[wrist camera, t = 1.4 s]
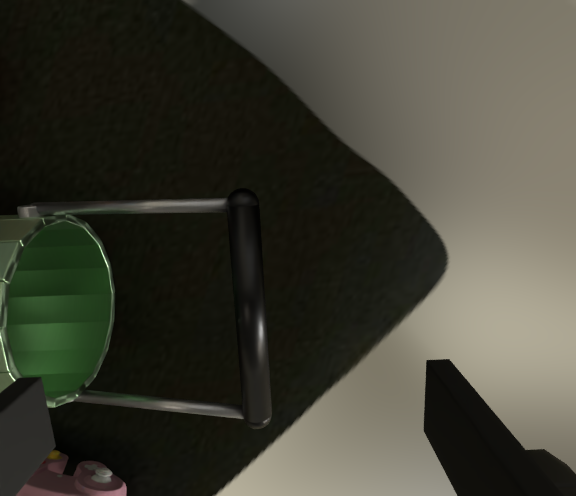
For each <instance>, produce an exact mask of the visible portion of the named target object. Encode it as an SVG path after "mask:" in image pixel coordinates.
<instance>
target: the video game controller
mask: <svg viewBox="0 0 576 496" xmlns="http://www.w3.org/2000/svg"><path fill="white" fill-rule="evenodd" d="M67 461H68V456H67V455H65V454H63V453H61V452H59V451H57V450H52V452H51V453H50V454H49V455H48V457H47V458H46V459H45V460H44V462H43V463H42V464H41V465H40V466H39V468H38V469H37V470H36V471H35V473H34V474H33V475H32V476H31V478H30V479H29V480H28V481H27V482H26V484H25V485H24V486H23V487H22V489H21V490H20V491H19V492H18V494H17V495H16V496H126V490H127V488H126V484H125V483H124V482H123V481H122V480H121V479H120V478H119V477H117V476H115V475H113V474H112V472H111V471H110V470H109V469H108V468H107V467H106V466H105V465H104V464H102V463H100V462H96V461H83V462H81V463H79V464H78V466H77V469H76V471H75V473H74V475H73V476H68V475H63V474H62V473H63V471H64V468H65V466H66V463H67Z"/></svg>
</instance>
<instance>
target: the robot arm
mask: <svg viewBox="0 0 576 496" xmlns="http://www.w3.org/2000/svg"><path fill="white" fill-rule="evenodd" d="M424 432H425V434H426V436H427V438H428V440H429V442H430V444H431V446H432V448H433V450H434V451H435V453H436V455H437V457H438V459H439V461H440V463H441V465H442V467H443V469H444V470H445V473H446V475H447V476H448V478H449V480H450V482H451V484H452V486H453V488H454V490H455V492H456V494H457V496H576V474H575V473H574V472H573V471H572V470H571V469H570V467H569V466H568V465H567V464H565V463H564V462H562V461H561V460H559V459H558V458H556V457H555V456H553V455H552V454H550V453H549V452H547V451H546V450H544V449H543V450H542V449H540V450H525V449H524V448H523V446H521V444H520V443H519V442H518V440H517V439H516V438H515V437H514V436H513V435H512V433H511V432H510V431H509V430H508V429H507V428H506V426H505V425H504V424H503V423H502V421H501V420H500V419H499V418H498V417H497V416H496V415H495V413H494V412H493V411H492V410H491V409H490V408H489V406H488V405H487V404H486V403H485V401H484V400H483V399H482V398H481V397H480V395H479V394H478V393H477V392H476V391H475V389H474V388H473V387H472V386H471V385H470V383H469V382H468V381H467V380H466V379H465V378H464V376H463V375H462V374H461V373H460V372H459V370H458V369H457V368H456V367H455V366H454V365H453V363H452V362H451V361H450V360H449V359H446V360H445V359H443V360H427V362H426V387H425V411H424ZM55 447H56V445H55V440H54V436H53V431H52V426H51V421H50V416H49V411H48V406H47V402H46V397H45V392H44V387H43V382H42V377H26V378H18V379H17V380H16V381H14V382H13V383H12V384H11V385H9V386H8V387H7V388H6V389H4V390H3V391H2V392H1V393H0V496H16V495H17V494H18V492H19V491H20V490H21V489H22V487H23V486H24V485H25V484H26V482H27V481H28V480H29V479H30V478H31V476H32V475H33V474H34V473H35V471H36V470H37V469H38V468H39V466H40V465H41V464H42V463H43V462H44V460H45V459H46V458H47V457H48V455H49V454H50V453H51V452H52V450H53V449H54V448H55Z"/></svg>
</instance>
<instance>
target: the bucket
mask: <svg viewBox="0 0 576 496" xmlns="http://www.w3.org/2000/svg"><path fill="white" fill-rule="evenodd" d="M17 210H18V215H1V216H0V393H1V392H2V391H3V390H4V389H6V388H7V387H8V386H9V385H11V384H12V383H13V382H14V381H16V380H17V379H18V378H26V377H42V382H43V387H44V392H45V397H46V402H47V406H48V408H54V407H57V406H59V405H62V404H64V403H69V402H72V401H78V402H87V403H97V404H107V405H116V406H126V407H136V408H145V409H155V410H165V411H174V412H184V413H193V414H203V415H213V416H222V417H232V418H242V419H244V420H245V422H246V424H247V425H248V426H249V427H251V428H254V429H260V428H263V427H265V426H266V425H267V424H268V423H269V421H270V419H271V415H272V409H271V393H270V376H269V359H268V343H267V326H266V309H265V293H264V276H263V259H262V243H261V226H260V209H259V200H258V198H257V196H256V194H255V193H254V192H252V191H251V190H249V189H245V188H240V189H237V190H235V191H233V192H232V193H231V194H230V195H229V197H228V198H202V199H161V200H121V201H80V202H40V203H32V204H30V205H24V206H19V207H17ZM195 212H227V215H228V228H229V241H230V253H231V266H232V279H233V291H234V304H235V316H236V329H237V342H238V354H239V367H240V379H241V392H242V405H236V404H226V403H216V402H205V401H195V400H184V399H174V398H163V397H153V396H143V395H132V394H122V393H111V392H101V391H90V390H85V389H86V388H87V386H88V385H89V384H90V383H91V382H92V381H93V380H94V378H95V377H96V375H97V373H98V371H99V368H100V366H101V364H102V362H103V360H104V358H105V356H106V354H107V351H108V347H109V343H110V338H111V334H112V329H113V325H114V313H115V293H114V292H115V288H114V281H113V274H112V268H111V265H110V264H111V263H110V261H109V258H108V256H107V253H106V251H105V248H104V246H103V243H102V241H101V239H100V238H99V237H98V235H97V234H96V233H95V232H94V231H93V229H92V228H91V227H90V226H89V224H88V223H87V222H85V221H84V220H81V219H79V218H77V217H74V216H72V215H73V214H134V213H195Z"/></svg>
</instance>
